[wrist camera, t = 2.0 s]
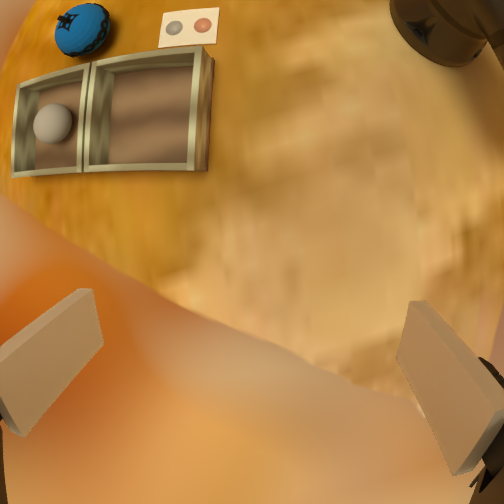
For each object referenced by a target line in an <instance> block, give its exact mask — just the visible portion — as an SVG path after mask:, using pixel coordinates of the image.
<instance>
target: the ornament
mask: <svg viewBox="0 0 504 504" xmlns="http://www.w3.org/2000/svg"><path fill="white" fill-rule="evenodd" d="M109 16H110V14H109V12H108V11H107V10H106V9H105V8H104V7H103V6H101V5H99V4H96V3H94V4H91V3H86V4H82V5H78V6H76V7H73V8H72V9H70V10H69V11H67V12H66V13H65V14H64V15H63V16H59V17H58V19H57V20H59V22H58V24H57V26H56V30H55V41H56V44H57V46H58V47H59V49H60V50H61V51H62V52H63V53H64V54H65V55H67V56H70V57H77V56H82V55H86V54H89V53H91V52H93V51H94V50H96V49H97V48H98V47H99V46H101V45H102V43H103V42H104V41H105V39H106V38H107V36H108V34H109V30H110V19H109Z"/></svg>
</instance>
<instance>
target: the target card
mask: <svg viewBox="0 0 504 504" xmlns="http://www.w3.org/2000/svg"><path fill="white" fill-rule="evenodd" d="M219 11H220V8H204V9H193V10H183V11H175V12H167V13H163V19H162V25H161V32H160V39H159V46H158V48H159V49H160V48H169V47H178V46H190V45H205V44H216V41H217V30H218V21H219Z"/></svg>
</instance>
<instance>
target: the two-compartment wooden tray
mask: <svg viewBox="0 0 504 504" xmlns="http://www.w3.org/2000/svg"><path fill="white" fill-rule="evenodd" d="M214 63H215V60H214V58H210V56H209V55H208V53H207V52H206V51H205V49H204V48H203V46H194V47H182V48H171V49H162V50H154V51H147V52H140V53H134V54H128V55H122V56H117V57H112V58H107V59H102V60H98V61H93V62H92V63H90V62H89V63H85V64H81V65H77V66H73V67H69V68H66V69H62V70H59V71H55V72H52V73H49V74H46V75H43V76H40V77H37V78H34V79H31V80H28V81H25V82H22V83H20V84H17V91H16V98H15V107H14V117H13V129H12V148H11V178H17V177H26V176H42V175H55V174H70V173H88V172H112V171H208V155H209V135H210V118H211V103H212V88H213V75H214ZM51 103H59V104H62V105H64V106H66V107H67V108H68V110H69V111H70V113H71V116H72V125H71V129H70V131H69V133H68V134H67V136H66V137H65V138H64V139H63V140H61V141H60V142H58V143H55V144H45V143H43V142H41V141H40V140H38V138H37V137H36V135H35V133H34V129H33V124H34V119H35V117H36V115H37V113H38V112H39V111H40V110H41V109H42V108H43V107H44V106H46V105H48V104H51Z"/></svg>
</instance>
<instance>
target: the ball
mask: <svg viewBox="0 0 504 504" xmlns="http://www.w3.org/2000/svg"><path fill="white" fill-rule="evenodd" d="M71 125H72V116H71V113H70V111H69V110H68V108H67V107H66V106H64V105H62V104H59V103H51V104H48V105H46V106H44V107H43V108H42V109H41V110H40V111H39V112H38V113H37V115H36V117H35V119H34V124H33V129H34V133H35V135H36V137H37V138H38V140H40V141H41V142H43V143H45V144H55V143H58V142H60V141H61V140H63V139H64V138H65V137H66V136H67V134H68V133H69V131H70V129H71Z"/></svg>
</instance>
